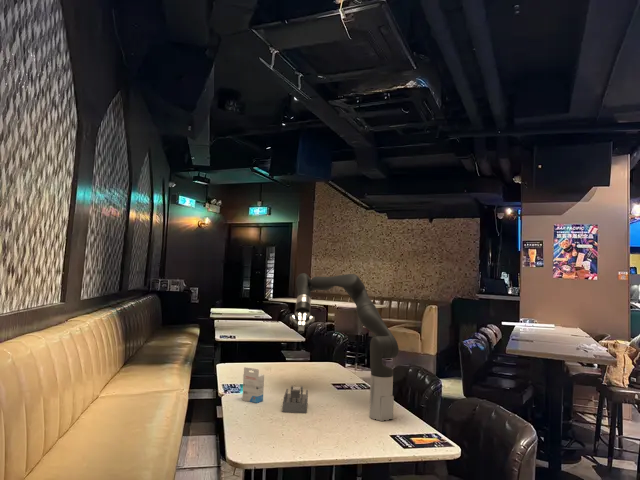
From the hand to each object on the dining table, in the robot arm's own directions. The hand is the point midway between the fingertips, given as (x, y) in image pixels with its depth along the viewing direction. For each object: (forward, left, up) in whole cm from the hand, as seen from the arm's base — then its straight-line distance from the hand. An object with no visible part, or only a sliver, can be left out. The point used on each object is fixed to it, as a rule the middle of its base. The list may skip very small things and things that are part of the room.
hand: (300, 332), depth 222 cm
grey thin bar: (-12, +7, -23) cm, 27 cm away
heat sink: (-17, +10, -30) cm, 36 cm away
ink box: (0, +23, -30) cm, 38 cm away
